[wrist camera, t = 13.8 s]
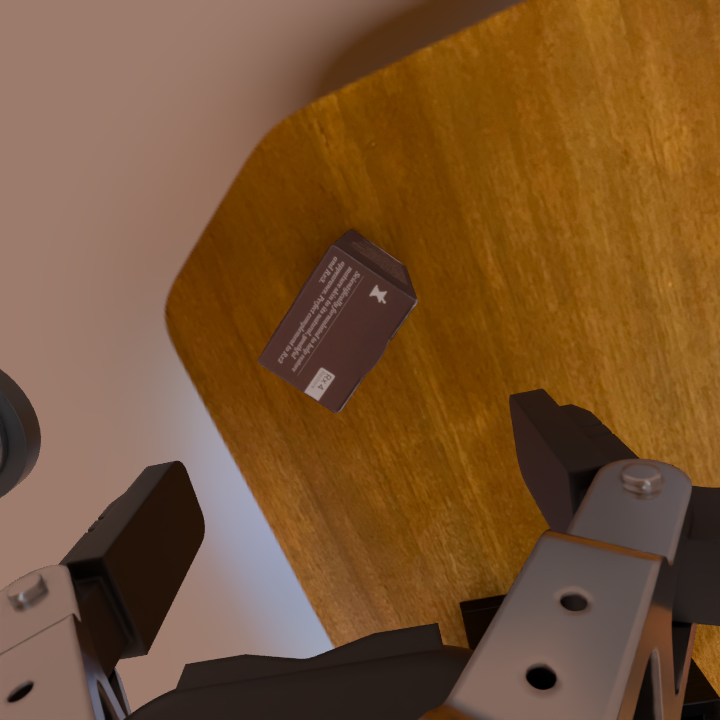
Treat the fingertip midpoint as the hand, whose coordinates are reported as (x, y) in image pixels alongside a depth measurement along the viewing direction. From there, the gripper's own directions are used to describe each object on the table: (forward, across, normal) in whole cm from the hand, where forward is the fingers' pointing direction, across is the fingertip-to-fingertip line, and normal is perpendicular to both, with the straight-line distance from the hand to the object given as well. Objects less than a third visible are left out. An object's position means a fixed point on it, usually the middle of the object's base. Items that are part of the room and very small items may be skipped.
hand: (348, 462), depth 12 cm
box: (+21, 0, -1) cm, 21 cm away
